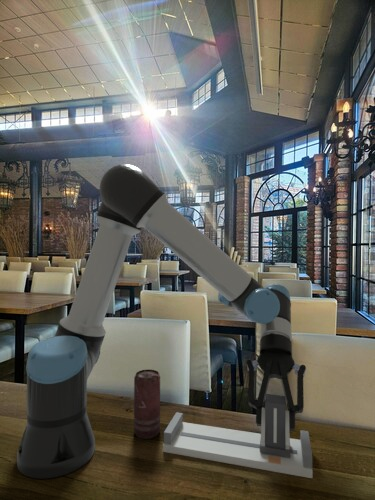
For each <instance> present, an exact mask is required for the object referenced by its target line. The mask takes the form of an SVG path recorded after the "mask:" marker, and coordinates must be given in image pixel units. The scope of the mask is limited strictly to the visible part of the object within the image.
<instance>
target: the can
mask: <svg viewBox="0 0 375 500" xmlns="http://www.w3.org/2000/svg"><path fill="white" fill-rule="evenodd" d="M133 378H134V380H133V385H134V387H133V388H134V389H133V391H134V392H133V396H134V398H133V433H134V434H135V436H136V437H137V438H139V439H142V440H148V439H153V438H155V437H156V436H158V434H159V433H160V431H161V375H160V372H159V371H158V370H155V369H142V370H139V371H137V372H136V373H135V376H133Z"/></svg>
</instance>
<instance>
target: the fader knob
mask: <svg viewBox="0 0 375 500" xmlns="http://www.w3.org/2000/svg"><path fill="white" fill-rule="evenodd" d="M286 407H287V404H286V399H285V395H278V394H270V393H266V397H265V401H264V408H265V446H262V445H261V439H260V452H261V453H267V454H273V455H279V456H285V457H290V453H291V451H290V449H289V450H288V449H285V410H286V411H287V409H286Z"/></svg>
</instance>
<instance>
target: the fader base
mask: <svg viewBox="0 0 375 500" xmlns="http://www.w3.org/2000/svg"><path fill="white" fill-rule="evenodd" d="M183 420H184V413H182V412H175V414H174V415H173V417H172V419H171V420H170V422H169V423H168V425H167V427H166V428H165V430H164V431H163V444H162V452H164V453H169V454H173V455H174V454H175V455H180V456H184V457H189V458H190V457H191V458H196V459H201V460H206V461H207V460H208V461H212V462H213V461H214V462H219V463H223V464H224V463H225V464H230V465H235V466H239V467H240V466H242V467H246V468H251V469H252V468H253V469H258V470H264V471H267V472H268V471H269V472H274V473H281V474H286V475H291V476H296V477H304V478H308V479H313V478H314V477H313V473H314V472H313V470H314V469H313V453H312V446H311V441H310V434H309V431H308V430H304V429H303V430H301V429H300V431H299V432H300V438H299V439H297V438H291V437H290V451H291V453H290V457H285V456H279V455H273V454H267V453H261V452H260V439H261V433H258V432H253V431H252V432H250V431H246V430H245V431H244V430H237V429H230V428H224V427H219V426H211V425H205V424H199V423H192V422H191V423H190V422H185V421H183Z"/></svg>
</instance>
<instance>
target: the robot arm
mask: <svg viewBox="0 0 375 500" xmlns="http://www.w3.org/2000/svg"><path fill="white" fill-rule="evenodd" d="M99 194H100V199H101V203H100V205H99V209H98V210H97V214H96V219H97V222H98V223H99V227H98V230H97V233H96V235H95V238H94V241H93V244H92V247H91V250H90V253H89V256H88V260H86V261H87V262H86V264H85V267H84V270H83V273H82V275H81V279H80V282H79V284H78V288H77V290H76V294H75V296H74V298H73V299H74V300H73V301H72V304H71V308H70V310H69V314H68V315H66V316H65V317H63V318H61V319H60V320H59V323H58V326H57V328H56V331H55V334H54V336H52V337H48V338H47V339H42V340H40V341H38V342H36V343H35V344H34V345H33V346H31V348H30V349H29V351H28V354H27V360H26V367H25V371H26V425H25V427H24V430H23V434H22V437H21V440H20V443H19V446H18V449H17V452H16V466H17V467H16V468H17V470H18V471H19V472H20V473H21V474H22V475H24V476H25V477H28V478H32V479H39V480H40V479H53V478H58V477H62V476H66V475H68V474H70V473H72V472H74V471H77V470H78V469H80V468H82V467H83V466H85V465H86V464H87V463H88V462H89V461H90V460H91V458H92V457H93V455H94V453H95V451H96V447H95V446H96V440H95V439H96V438H95V433H94V432H93V429H92V425H91V421H90V419H89V416H88V413H87V411H88V410H87V405H88V402H87V400H88V399H87V397H88V396H87V393H88V391H87V390H88V389H87V387H88V386H87V385H88V379H89V377H90V375H91V373H92V371H93V369H94V367H95V366H96V364H97V362H98V361H99V358H100V355H101V348H102V345H103V342H104V340H105V339H104V338H105V336H106V333H107V332H106V329H105V328H104V326H103V323H104V320H105V317H106V314H107V312H108V309H109V306H110V302H111V299H112V298H113V297H112V296H113V294H114V291H115V288H116V286H117V282H118V280H119V277H120V275H121V271H122V270H123V269H122V268H123V265H124V263H125V259H126V257H127V253H128V250H129V248H130V245H131V241H132V239H133V237H134V236H136V235H137V234H139V233H141V231H142V228H144V229H145V230H146V231H148V232H149V233H150V234H151V235H152V236H153V237H155V238H156V239H157V240H158V241H159V242H161V244H162V245H164V246H165V248H166V249H167V248H168V249H169V251H170V252H172V253H173V254H174V255H175V256H176V257H178V258H179V260H182V262H184V263H185V264H186V265H187V266H188V267H189V268H191V269H192V270H193V271H194V272H195V273H196V274H197V275H198V276H200V277H201V278H202V279H203V280H204V281H205V282H207V284H209V285H210V286H211V287H212V288H214V290H216V291H217V292H218V295H217V299H218V302H219V303H220V304H222V305H224V306H226V307H230V308H232V309H235V310H237V311H238V312H239V313H241V314H242V315H244V316H246V317H247V318H248V320H250V321H251V322H253V323H256V324H260V330H259V331H260V335H259V336H260V339H259V353H258V354H259V355H258V357H257V359H256V360H255V359H254V360H251V359H248V360H247V361H246V367H247V370H248V391H247V392H248V394H247V398H248V399H247V401H248V406H249V407H251V408H254V409H255V411H256V412H255V425H256V426H257V427H260V434H261V445H262V446H265V407H264V406H265V399H266V394H268V393H267V392H268V387H269V385H270V384H269V383H270V381H271V379H277V380H280V382H281V386H282V389H283V396H285V404H286V407H287V409H286V410H285V449H288V450H289V449H290V438H291V437H290V431H291V432H294V431H295V430H296V415H297V414H302V413H303V412H304V406H305V404H304V403H305V401H304V377H305V374H306V371H307V370H306V369H307V368H306V367H307V366H306V365H305V364H301V365H300V364H297V363H296V362H295V360H294V358H293V348H292V347H293V343H292V320H291V319H292V318H291V315H292V311H291V307H292V301H291V296H290V295H291V293H290V291H289V289H288V288H287V287H286V286H284V285H282V284H278V283H277V284H274V283H270V284H268V285H266V286H263V285H262V284H260V282H259V281H258V280H256V279H255V278H254V277H252V276H251V274H250V273H248V272H247V271H246V270H245V269H244V268H243V267H242V266H240V265H239V264H238V262H236V261H235V260H234V259H233V258H231V257H230V256H229V255H228V254H227V253H226V252H225V251H224V250H223V249H221V248H220V247H219V246H218V245H216V243H215V242H214V241H212V240H211V239H210V238H209V237H208V236H207V235H205V234H204V233H203V232H202V231H201V230H200V229H199V228H198V227H196V225H194V224H193V223H192V222H191V221H190V220H188V218H186V217H185V216H184V215H183V214H182V213H181V212H180V211H178V210H177V209H176V208H175V207H174V206H173V205H172V204H171V203H170V202H168V197H167V193H165V192H164V191H163V190H162V189H161V188H160V187H159V186H158V185H157V184H156V183H155V182H154V181H153V180H152V179H151V178H150V177H149V176H148V175H147V174H146V173H145V172H144V171H143V170H141V169H140V168H139V167H137V166H135V165H133V164H128V163H126V164H125V163H124V164H123V163H122V164H117V165H113V166H112V167H111V168H109V169H108V170H107V171H106V172H104V175H103V176H102V178H101V180H100V183H99ZM258 367H259V368H260V369H261V371H262V372H263V377H262V380H261V383H260V384H261V386H260V389H259V392H258V396H257V400H256V399H255V391H256V390H255V384H256V383H255V382H256V381H255V380H256V377H255V376H256V375H255V371H257V370H258V369H257V368H258ZM292 370H294V374H295V375H296V376H297V377H296V389H297V390H296V404H294V403H295V402H294V399H293V395H292V391H291V387H290V382H289V378H288V375H289V374H290V373H291V372H292Z"/></svg>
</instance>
